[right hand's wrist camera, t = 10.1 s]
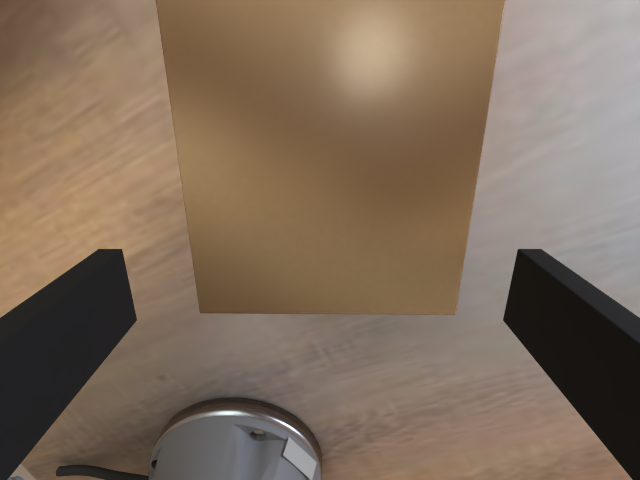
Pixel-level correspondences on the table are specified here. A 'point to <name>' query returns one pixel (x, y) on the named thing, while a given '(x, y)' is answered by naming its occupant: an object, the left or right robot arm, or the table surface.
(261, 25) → the cabinet
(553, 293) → the right robot arm
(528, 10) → the table surface
